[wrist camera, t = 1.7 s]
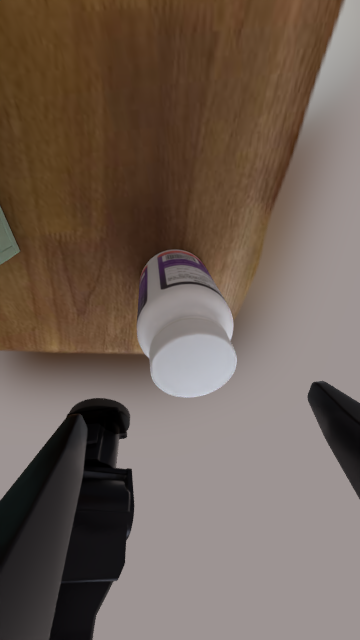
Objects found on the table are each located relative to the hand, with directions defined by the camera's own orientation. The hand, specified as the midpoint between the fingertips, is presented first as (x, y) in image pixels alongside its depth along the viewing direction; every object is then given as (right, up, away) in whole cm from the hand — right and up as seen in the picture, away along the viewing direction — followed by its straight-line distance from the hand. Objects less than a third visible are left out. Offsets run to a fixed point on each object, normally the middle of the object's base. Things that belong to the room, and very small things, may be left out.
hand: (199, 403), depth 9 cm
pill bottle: (-1, +6, +10) cm, 12 cm away
